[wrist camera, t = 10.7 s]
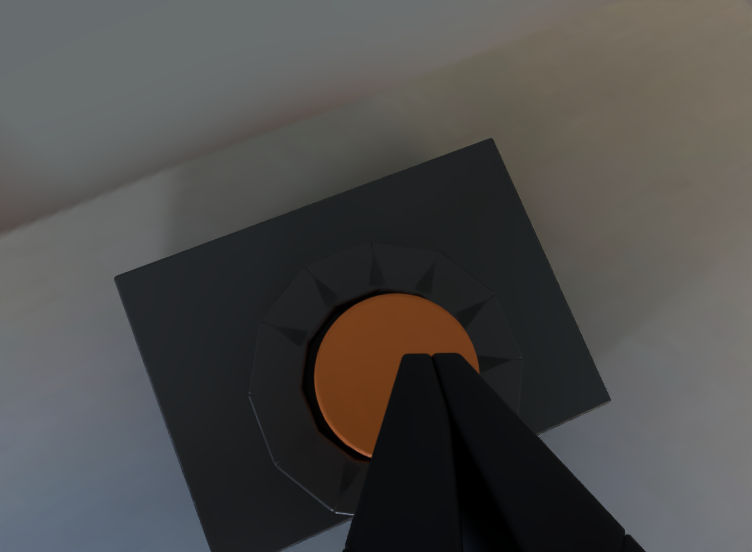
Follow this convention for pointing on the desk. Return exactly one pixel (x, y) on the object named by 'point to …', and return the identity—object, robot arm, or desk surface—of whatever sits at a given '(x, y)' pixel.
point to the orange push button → (378, 360)
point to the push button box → (315, 317)
